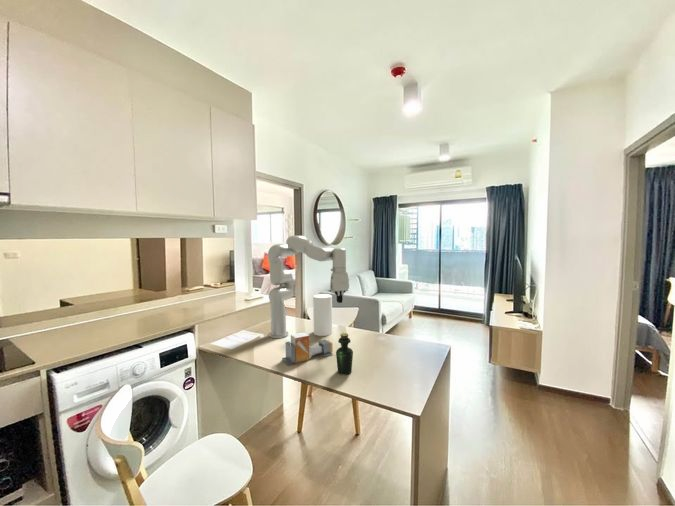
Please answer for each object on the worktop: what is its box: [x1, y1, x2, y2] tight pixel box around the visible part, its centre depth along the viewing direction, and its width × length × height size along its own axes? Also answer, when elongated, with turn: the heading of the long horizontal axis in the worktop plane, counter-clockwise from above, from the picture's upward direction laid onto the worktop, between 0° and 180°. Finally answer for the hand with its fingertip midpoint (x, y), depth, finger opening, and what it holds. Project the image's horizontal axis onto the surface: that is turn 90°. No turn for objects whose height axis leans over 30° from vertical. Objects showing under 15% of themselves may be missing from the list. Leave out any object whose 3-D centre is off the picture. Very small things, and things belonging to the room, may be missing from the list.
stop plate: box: [281, 341, 296, 367], centre depth 145 cm, size 8×4×9 cm, turn 31°
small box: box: [290, 331, 310, 364], centre depth 148 cm, size 8×6×13 cm
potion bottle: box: [335, 332, 354, 376], centre depth 134 cm, size 8×8×18 cm
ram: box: [309, 339, 334, 359], centre depth 154 cm, size 6×14×6 cm, turn 121°
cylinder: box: [312, 293, 333, 337], centre depth 189 cm, size 12×12×25 cm
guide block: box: [317, 339, 333, 358], centre depth 156 cm, size 9×5×6 cm, turn 31°
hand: (339, 302), depth 160 cm, fingers closed
